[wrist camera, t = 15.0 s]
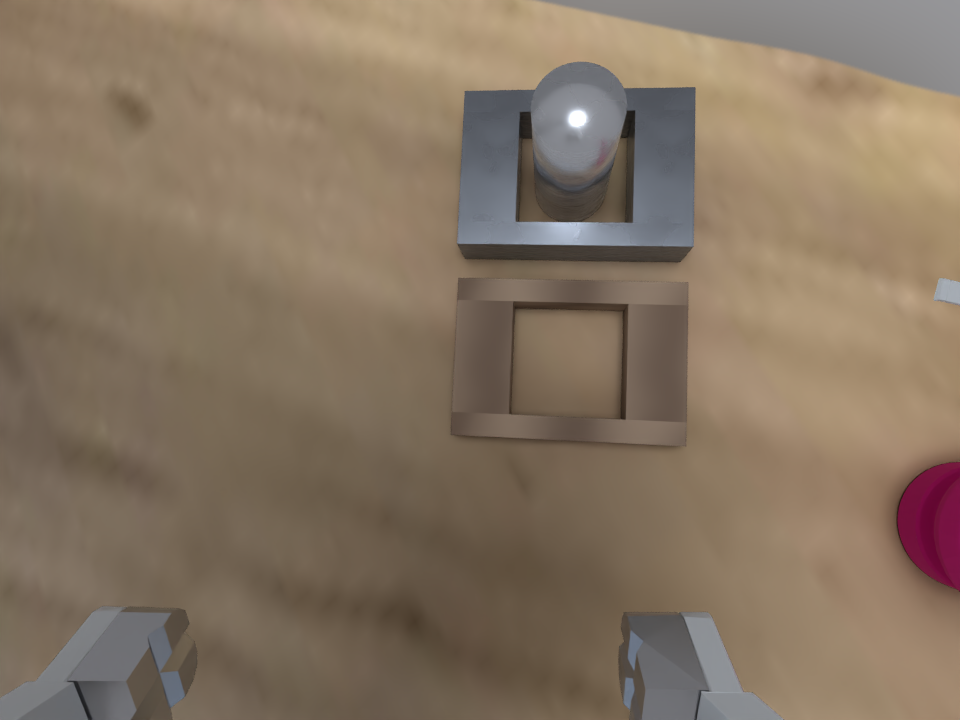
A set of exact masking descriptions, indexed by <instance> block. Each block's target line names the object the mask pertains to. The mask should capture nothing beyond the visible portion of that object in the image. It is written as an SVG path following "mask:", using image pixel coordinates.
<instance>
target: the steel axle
mask: <svg viewBox="0 0 960 720" xmlns="http://www.w3.org/2000/svg"><path fill="white" fill-rule="evenodd" d="M626 112H627V99H626V94H625V91H624V88H623V86H622V84H621V83H620V81H619V80H618V78H617V77H616V76H615V75H614V74H613V73H611V72H610V71H609V70H607V69H606V68H604V67H602V66H600V65H597V64H594V63H589V62H573V63H568V64H565V65H562V66H560V67H558V68H556V69H554V70H553V71H551V72H550V73H549V74H547V75H546V76H545V77H544V78H543V79H542V80H541V82H540V83H539V85H538V86H537V88H536V90H535V92H534V95H533V98H532V102H531V122H532V140H533V158H534V176H535V193H536V198H537V201H538V203H539V205H540V207H541V209H542V210H543V211H544V212H545V213H546V214H547V215H548V216H550V217H551V218H553V219H555V220H558V221H562V222H578V221H581V220H584V219H586V218H588V217H590V216H591V215H593V214H594V213H595V212H596V211H597V210H598V209H599V207H600V206H601V204H602V202H603V200H604V198H605V194H606V190H607V186H608V182H609V178H610V175H611V171H612V167H613V163H614V159H615V155H616V151H617V148H618V144H619V140H620V136H621V132H622V128H623V124H624V121H625V117H626Z"/></svg>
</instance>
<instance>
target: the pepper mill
mask: <svg viewBox="0 0 960 720" xmlns="http://www.w3.org/2000/svg"><path fill="white" fill-rule="evenodd" d="M897 520H898V529H899V534H900V538H901V541H902V544H903V546H904V548H905V550H906V552H907V553H908V555H909V557H910V558H911V559H912V561H913V562H914V563H915V564H916V565H917V566H918V567H919V568H920V569H921V570H922V571H923V572H924V573H926V574H927V575H928V576H930V577H931V578H933V579H935V580H936V581H938V582H941V583H943V584H945V585H948V586H950V587H953V588H955V589H957V590H959V591H960V462H954V463H946V464H941V465H938V466H935V467H933V468H931V469H929V470H927V471H925V472H923V473H922V474H921V475H919V476H918V477H917V478H916V479H915V480H914V481H913V482H912V483H911V484H910V485H909V486H908V488H907V489H906V491H905V493H904V495H903V497H902V499H901V502H900V506H899V511H898V519H897Z"/></svg>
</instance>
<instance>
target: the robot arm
mask: <svg viewBox="0 0 960 720" xmlns="http://www.w3.org/2000/svg"><path fill="white" fill-rule="evenodd" d="M189 624H190V623H189V620H188V617H187V614H186V611H185V610H183V609H179V608H155V607H114V606H102V607H100V608H98V609H97V610H95V611H93V612H92V614H91V615H90V616H89V617H88V618H87V620H86V621H85V622H84V623H83V624H82V626H81V627H80V628H79V629H78V630H77V632H76V633H75V634H74V635H73V637H72V638H71V639H70V640H69V641H68V643H67V644H66V645H65V646H64V647H63V649H62V650H61V651H60V652H59V653H58V655H57V656H56V657H55V658H54V660H53V661H52V662H51V663H50V664H49V666H48V667H47V668H46V669H45V670H44V672H43V673H42V674H41V675H40V677H39V678H38V679H37V680H36V681H34V682H25V683H24V684H22V685H21V686H19V687H17V688H16V689H14V690H12V691H11V692H9V693H8V694H6V695H4V696H3V697H1V698H0V720H173V719H172V713H171V707H172V706H174V705H175V704H176V703H177V702H179V701H180V700H181V699H183V698H184V697H185V696H186V694H187V692H188V690H189V688H190V686H191V684H192V682H193V680H194V676H195V672H196V668H197V648H196V644H195V641H194V640H193V639H191V638H190V637H189V636H188V635H187V634H186V633H185V630H186V629H187V627H188V625H189ZM621 631H622V635H623V640H624V642H623V643H622V644H621V645H620V646H619V659H618V663H619V680H620V688H621V693H622V699H623V703H624V705H625V706H626V707H627V708H628V709H629V710H630V716H629V720H784V719H783V718H782V717H781V716H779V715H778V714H777V713H776V712H775V711H774V710H772V709H771V708H770V707H769V706H768V705H767V704H765V703H764V702H763V701H762V700H761V699H760V698H758V697H757V696H756V695H755V694H754V693H751V692H744V691H743V689H742V687H741V684H740V682H739V680H738V677H737V675H736V672H735V670H734V668H733V665H732V663H731V661H730V658H729V656H728V654H727V651H726V649H725V646H724V644H723V642H722V639H721V637H720V635H719V632H718V630H717V627H716V625H715V623H714V620H713V618H712V616H711V615H710V614H709V613H708V612H679V613H678V612H624V613H623V616H622V623H621Z"/></svg>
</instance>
